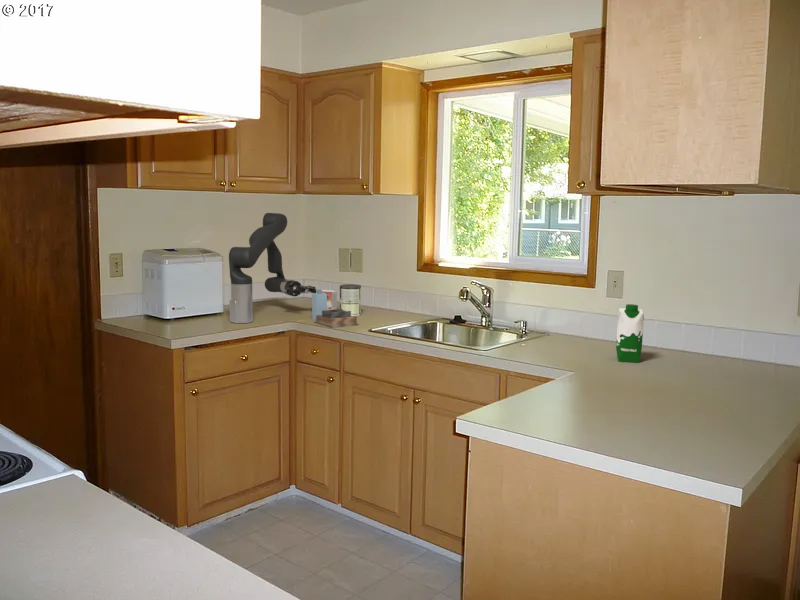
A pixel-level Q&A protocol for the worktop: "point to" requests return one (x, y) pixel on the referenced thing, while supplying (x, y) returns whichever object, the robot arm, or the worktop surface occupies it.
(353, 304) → the coffee can
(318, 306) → the blue rectangular bottle
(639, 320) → the milk carton
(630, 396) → the worktop surface
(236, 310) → the robot arm
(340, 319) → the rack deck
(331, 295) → the small box
